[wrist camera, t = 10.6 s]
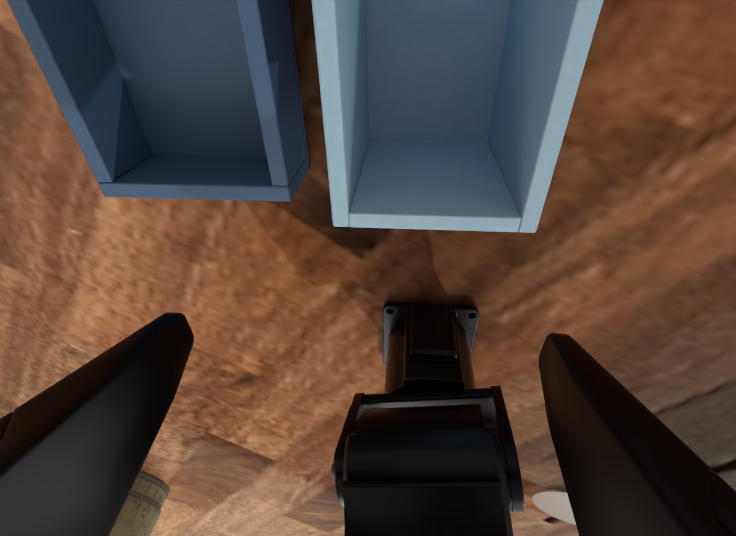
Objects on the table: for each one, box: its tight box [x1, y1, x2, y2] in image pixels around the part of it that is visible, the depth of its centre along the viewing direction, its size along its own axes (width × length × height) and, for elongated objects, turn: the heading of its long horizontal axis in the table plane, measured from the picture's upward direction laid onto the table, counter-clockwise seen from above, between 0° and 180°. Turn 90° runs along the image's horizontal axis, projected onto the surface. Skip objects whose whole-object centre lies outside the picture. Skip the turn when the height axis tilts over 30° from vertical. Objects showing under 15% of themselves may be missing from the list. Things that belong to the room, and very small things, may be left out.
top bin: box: [312, 0, 603, 233], centre depth 13 cm, size 12×7×8 cm, turn 1°
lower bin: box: [7, 0, 310, 201], centre depth 15 cm, size 14×9×4 cm, turn 1°
